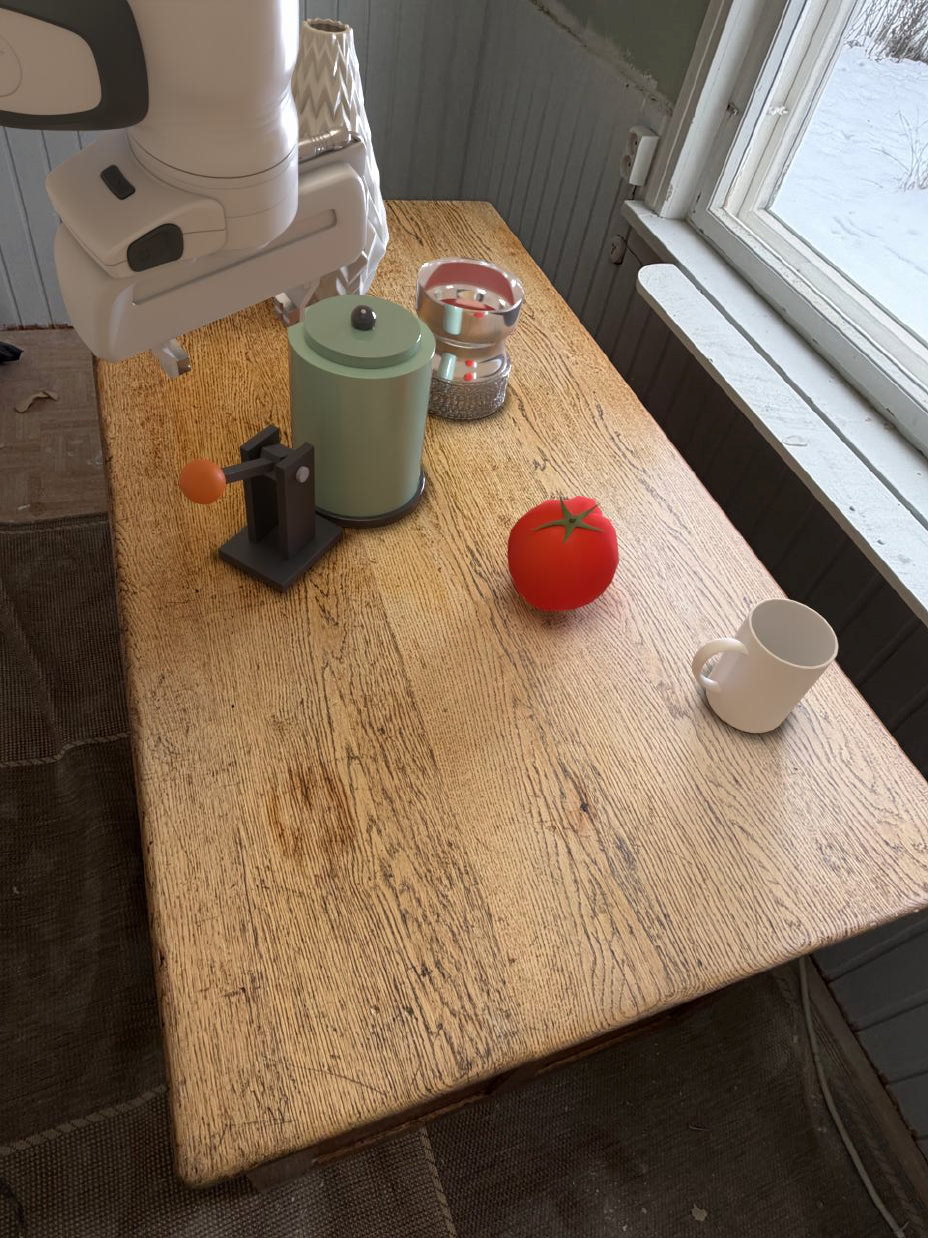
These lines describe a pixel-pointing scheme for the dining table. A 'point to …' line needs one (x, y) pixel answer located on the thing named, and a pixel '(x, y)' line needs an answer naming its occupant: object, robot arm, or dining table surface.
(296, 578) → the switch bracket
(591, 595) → the tomato
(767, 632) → the mug
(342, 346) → the green canister
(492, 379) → the silver candle holder
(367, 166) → the vase
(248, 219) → the robot arm
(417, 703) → the dining table surface
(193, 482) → the switch
